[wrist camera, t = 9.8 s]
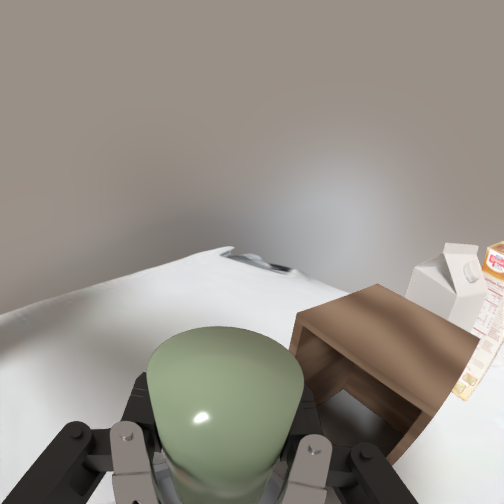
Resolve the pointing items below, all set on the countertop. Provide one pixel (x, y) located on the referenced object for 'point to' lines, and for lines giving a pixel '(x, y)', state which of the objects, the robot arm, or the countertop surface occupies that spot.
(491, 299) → the coffeecake box
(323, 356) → the cabinet
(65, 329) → the countertop surface
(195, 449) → the jar
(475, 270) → the milk carton
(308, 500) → the robot arm
